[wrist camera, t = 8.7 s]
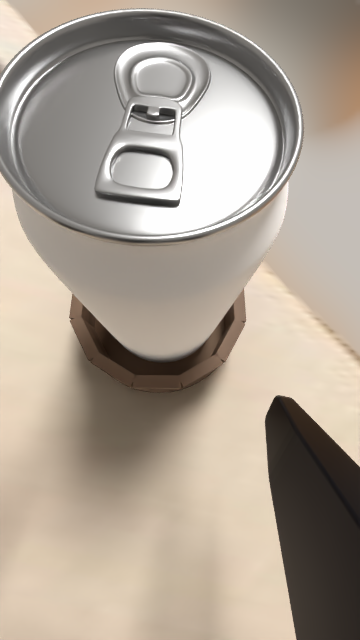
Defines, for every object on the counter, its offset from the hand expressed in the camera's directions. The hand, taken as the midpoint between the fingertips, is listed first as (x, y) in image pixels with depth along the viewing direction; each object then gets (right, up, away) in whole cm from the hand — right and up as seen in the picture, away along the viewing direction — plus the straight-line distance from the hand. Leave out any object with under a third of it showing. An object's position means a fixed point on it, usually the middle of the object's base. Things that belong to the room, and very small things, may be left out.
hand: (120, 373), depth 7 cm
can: (+1, +2, +9) cm, 9 cm away
